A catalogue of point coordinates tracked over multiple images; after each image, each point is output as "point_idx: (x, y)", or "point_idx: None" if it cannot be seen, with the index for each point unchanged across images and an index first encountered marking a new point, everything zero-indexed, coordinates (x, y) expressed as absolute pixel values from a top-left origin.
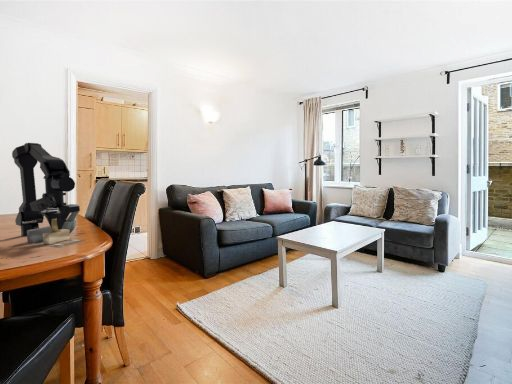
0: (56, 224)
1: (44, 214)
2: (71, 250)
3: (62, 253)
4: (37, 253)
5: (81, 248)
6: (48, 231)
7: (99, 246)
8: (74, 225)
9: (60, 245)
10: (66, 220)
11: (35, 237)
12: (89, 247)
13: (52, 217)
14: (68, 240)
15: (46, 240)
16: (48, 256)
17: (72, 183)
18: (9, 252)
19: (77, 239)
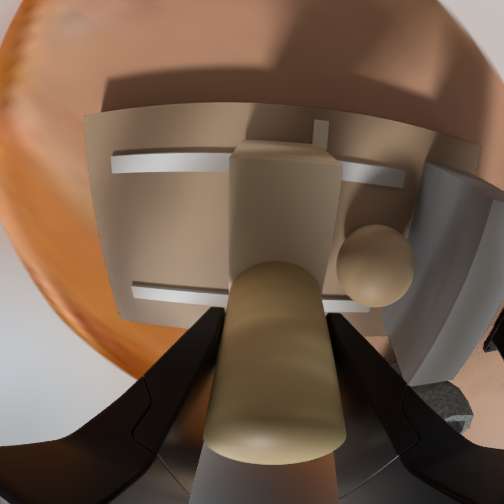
0: (223, 351)
1: (482, 478)
2: (70, 159)
3: (63, 92)
4: (221, 20)
5: (62, 212)
6: (417, 325)
7: (35, 266)
8: None
9: (132, 153)
10: None
11: (444, 197)
12: (50, 240)
13: (361, 465)
14: (223, 292)
15: (276, 146)
16: (88, 18)
17: None
18: (443, 27)
19: (189, 322)
